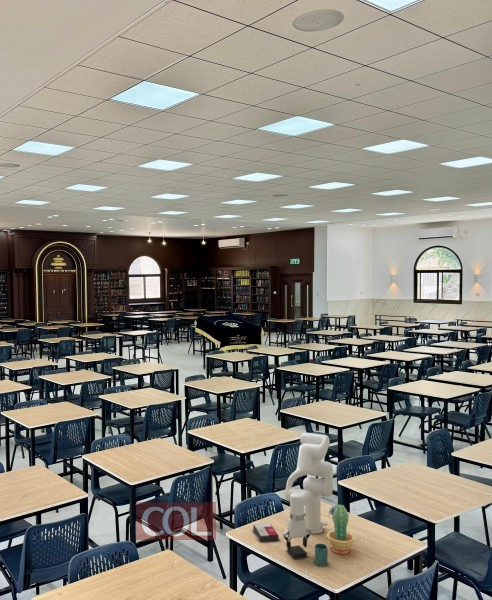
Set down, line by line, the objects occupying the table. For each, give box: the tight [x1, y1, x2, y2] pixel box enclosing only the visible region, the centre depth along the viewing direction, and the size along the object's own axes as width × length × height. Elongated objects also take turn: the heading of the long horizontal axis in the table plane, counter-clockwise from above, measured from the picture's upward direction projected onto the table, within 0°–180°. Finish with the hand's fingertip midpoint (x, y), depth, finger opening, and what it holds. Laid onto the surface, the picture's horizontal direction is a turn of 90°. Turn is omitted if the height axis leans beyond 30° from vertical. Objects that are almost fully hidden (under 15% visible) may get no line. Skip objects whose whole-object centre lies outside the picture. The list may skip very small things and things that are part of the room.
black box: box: [286, 545, 308, 560], centre depth 305 cm, size 7×9×3 cm
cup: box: [314, 543, 329, 567], centre depth 295 cm, size 6×6×9 cm
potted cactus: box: [326, 503, 356, 555], centre depth 309 cm, size 15×15×25 cm
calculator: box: [252, 523, 280, 543], centre depth 328 cm, size 11×4×15 cm
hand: (296, 547), depth 304 cm, fingers open, 9 cm apart
